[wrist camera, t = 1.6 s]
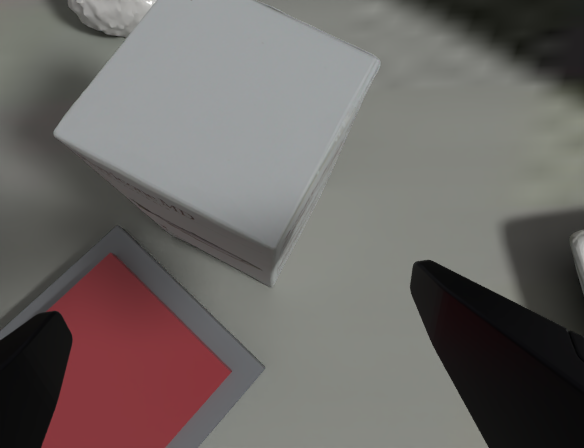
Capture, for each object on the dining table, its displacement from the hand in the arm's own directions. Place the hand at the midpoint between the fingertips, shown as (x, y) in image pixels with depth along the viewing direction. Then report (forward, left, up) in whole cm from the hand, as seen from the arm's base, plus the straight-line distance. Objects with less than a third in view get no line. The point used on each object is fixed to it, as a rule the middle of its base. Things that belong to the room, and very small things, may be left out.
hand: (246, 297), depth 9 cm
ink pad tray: (-8, +4, -12) cm, 15 cm away
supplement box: (+4, +5, -12) cm, 14 cm away
